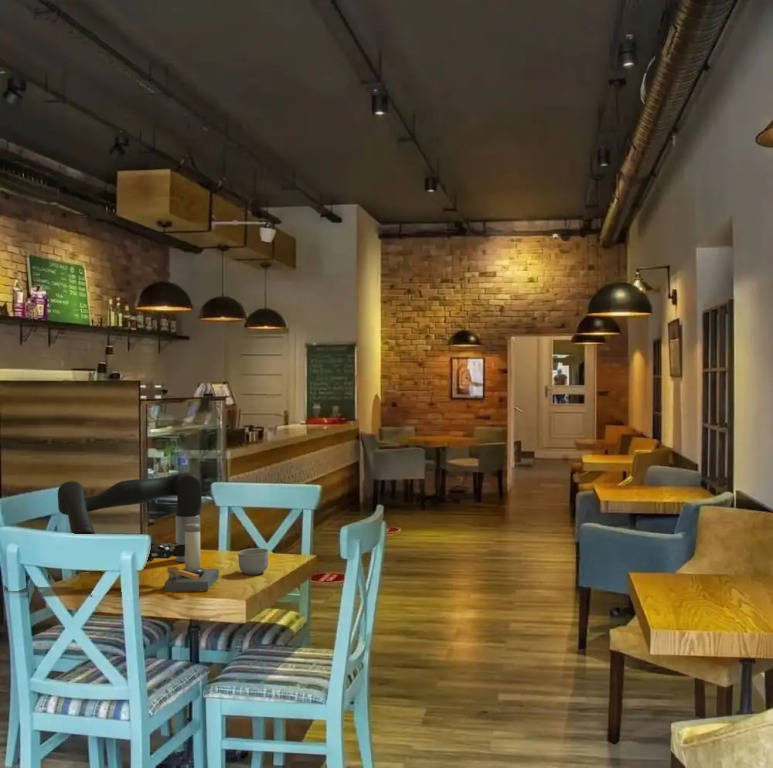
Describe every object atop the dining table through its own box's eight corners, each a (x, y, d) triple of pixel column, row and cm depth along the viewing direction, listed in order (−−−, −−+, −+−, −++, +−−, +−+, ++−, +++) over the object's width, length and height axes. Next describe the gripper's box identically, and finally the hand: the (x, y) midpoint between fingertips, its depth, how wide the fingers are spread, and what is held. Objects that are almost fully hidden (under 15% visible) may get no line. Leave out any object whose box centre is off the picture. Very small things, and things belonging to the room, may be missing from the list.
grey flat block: (178, 577, 302) (177, 563, 302) (218, 577, 302) (218, 562, 302) (164, 591, 282) (164, 576, 282) (208, 591, 282) (208, 575, 282)
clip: (174, 569, 290) (174, 566, 290) (201, 578, 277) (201, 574, 277) (165, 571, 288) (165, 567, 288) (192, 580, 275) (192, 576, 275)
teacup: (267, 576, 304) (267, 553, 304) (236, 576, 303) (236, 553, 303) (270, 567, 318) (270, 545, 317) (240, 568, 317) (240, 546, 317)
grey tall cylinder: (183, 581, 296) (183, 523, 296) (206, 581, 296) (206, 522, 296) (179, 586, 288) (178, 526, 288) (201, 586, 288) (201, 526, 288)
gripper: (144, 557, 298) (191, 557, 299) (133, 566, 284) (182, 566, 285) (144, 535, 298) (191, 535, 299) (133, 543, 284) (182, 543, 285)
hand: (187, 550), depth 292 cm, fingers open, 8 cm apart
